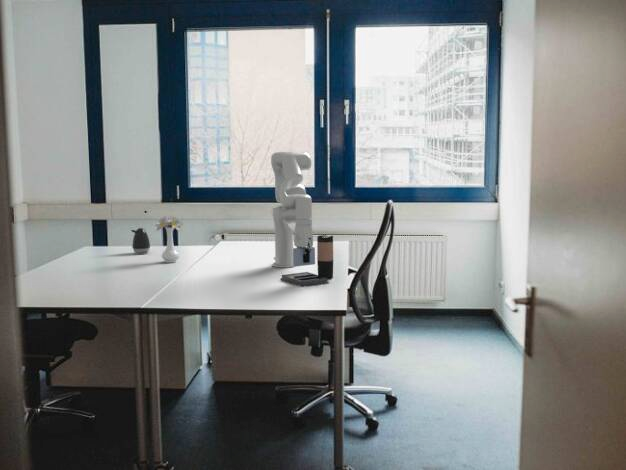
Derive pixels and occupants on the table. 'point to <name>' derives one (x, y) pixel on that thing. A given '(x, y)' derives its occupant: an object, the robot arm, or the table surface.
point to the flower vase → (169, 237)
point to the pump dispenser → (140, 241)
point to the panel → (299, 256)
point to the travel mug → (325, 256)
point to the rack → (305, 279)
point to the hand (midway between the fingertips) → (304, 261)
